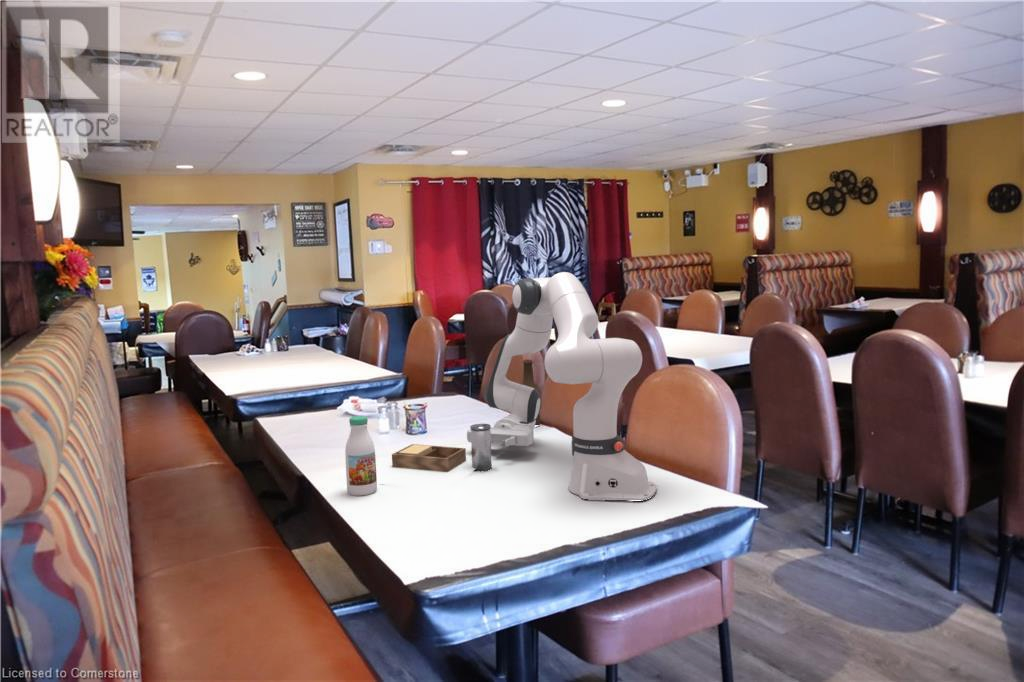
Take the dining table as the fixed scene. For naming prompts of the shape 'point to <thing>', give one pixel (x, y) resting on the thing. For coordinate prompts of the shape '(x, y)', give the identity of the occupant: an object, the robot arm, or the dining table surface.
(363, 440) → the milk bottle
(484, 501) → the dining table surface
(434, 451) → the caddy
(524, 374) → the beer bottle
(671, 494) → the dining table surface
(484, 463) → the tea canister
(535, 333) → the robot arm
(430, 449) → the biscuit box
